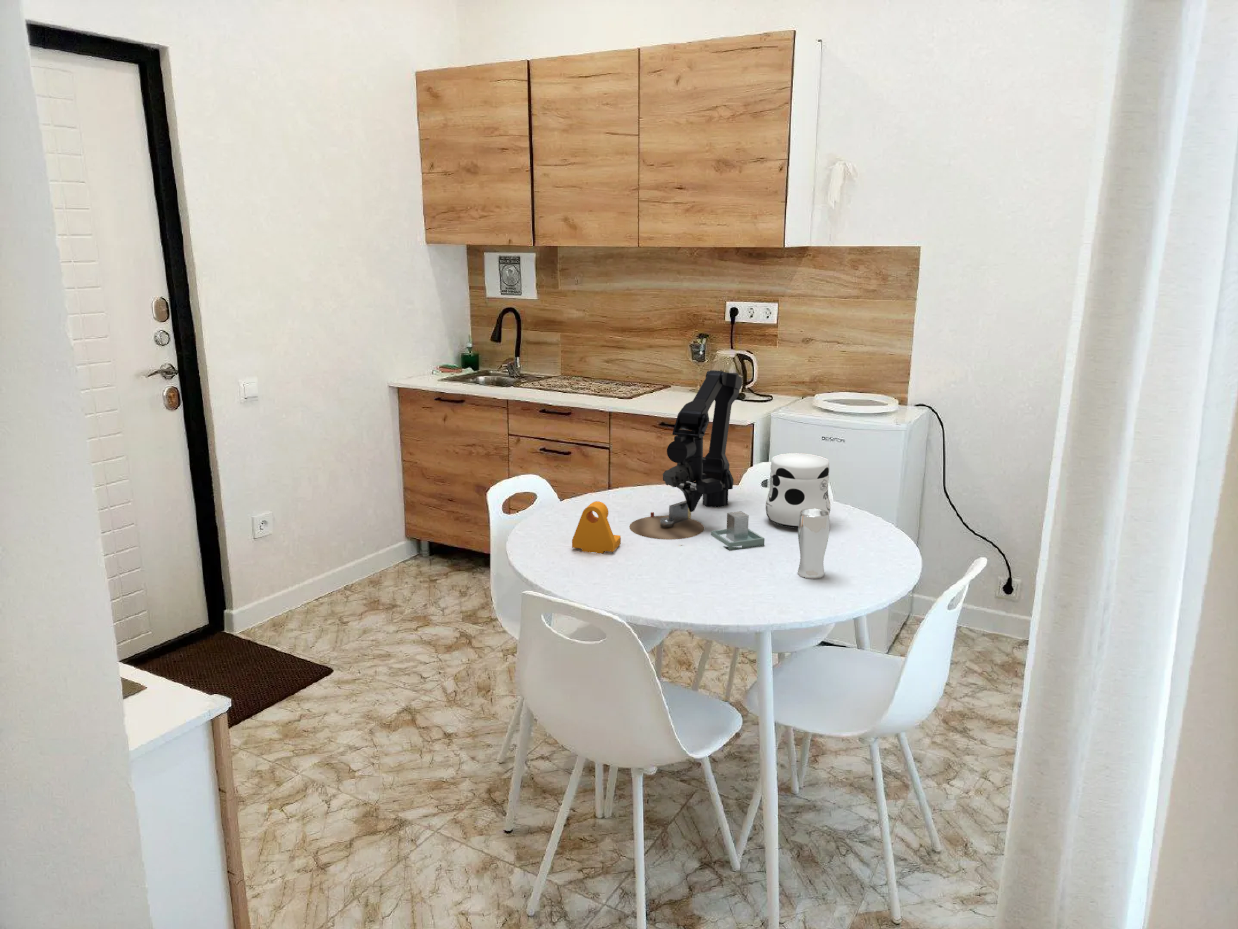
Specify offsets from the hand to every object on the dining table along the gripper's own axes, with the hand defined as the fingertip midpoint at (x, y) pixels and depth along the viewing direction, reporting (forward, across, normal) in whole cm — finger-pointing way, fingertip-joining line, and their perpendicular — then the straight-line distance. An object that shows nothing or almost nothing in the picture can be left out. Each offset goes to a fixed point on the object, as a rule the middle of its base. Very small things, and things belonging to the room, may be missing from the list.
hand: (691, 511), depth 235 cm
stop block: (+4, +17, +1) cm, 17 cm away
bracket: (+4, 0, -31) cm, 31 cm away
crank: (+3, -2, -4) cm, 5 cm away
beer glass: (+5, +43, 0) cm, 43 cm away
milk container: (+5, +14, +26) cm, 30 cm away
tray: (+4, +17, +2) cm, 17 cm away
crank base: (+4, -1, -8) cm, 9 cm away
